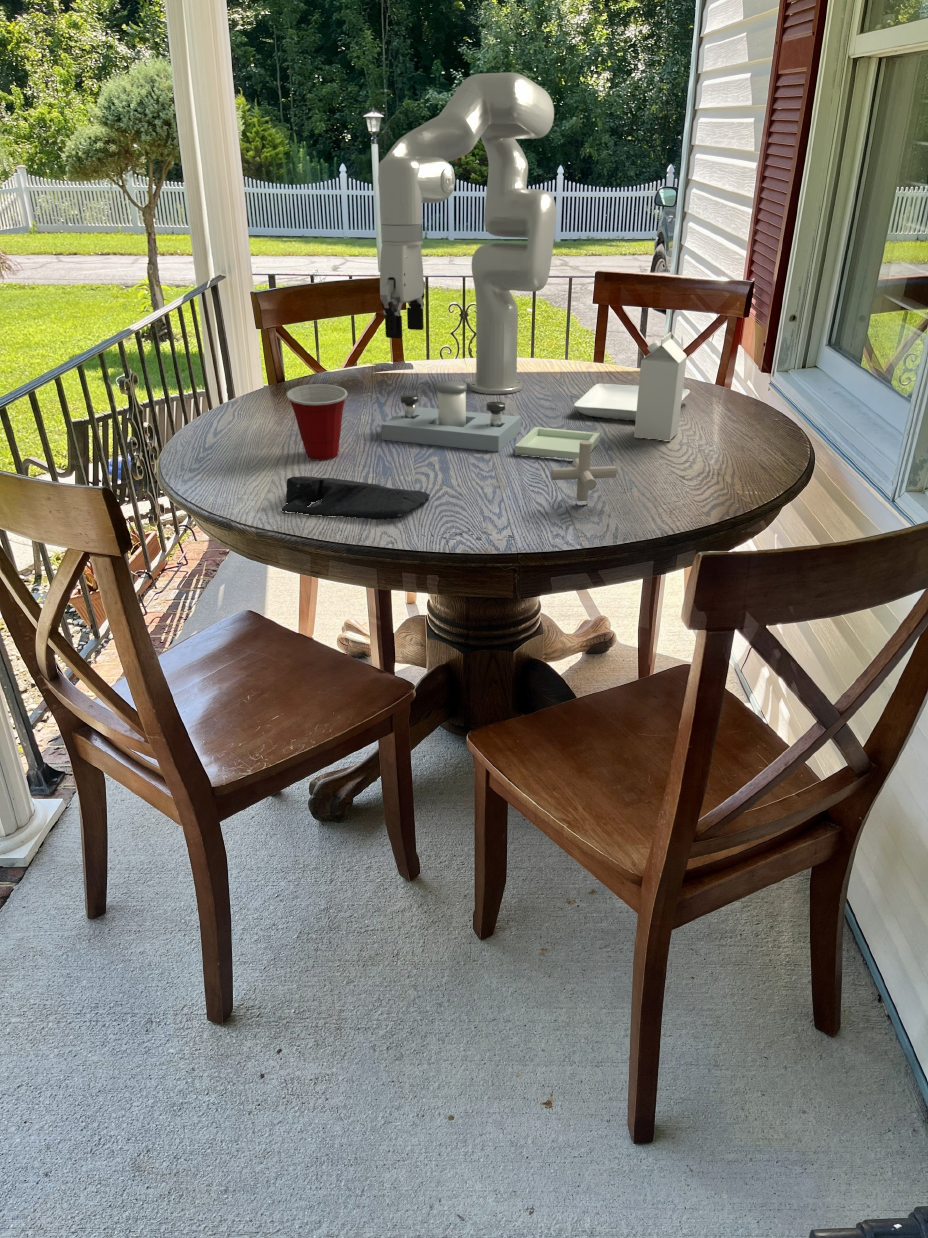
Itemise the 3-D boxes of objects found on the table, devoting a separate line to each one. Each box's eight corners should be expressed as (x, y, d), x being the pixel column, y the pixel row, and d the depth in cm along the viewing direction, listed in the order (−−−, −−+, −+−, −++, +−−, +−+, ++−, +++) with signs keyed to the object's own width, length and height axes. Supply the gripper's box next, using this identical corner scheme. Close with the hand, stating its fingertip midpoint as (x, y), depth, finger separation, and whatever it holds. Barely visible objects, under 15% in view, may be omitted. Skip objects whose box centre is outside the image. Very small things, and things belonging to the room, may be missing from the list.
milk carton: (678, 432, 167) (689, 333, 158) (669, 442, 162) (681, 340, 153) (642, 428, 170) (652, 330, 161) (633, 438, 164) (642, 337, 155)
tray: (534, 435, 166) (535, 426, 166) (599, 442, 162) (600, 433, 162) (514, 455, 156) (514, 445, 155) (583, 462, 152) (584, 453, 151)
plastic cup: (303, 468, 150) (296, 401, 144) (285, 452, 158) (278, 388, 153) (360, 459, 154) (356, 393, 149) (340, 443, 163) (335, 381, 157)
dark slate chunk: (400, 533, 126) (399, 502, 123) (271, 515, 132) (267, 486, 130) (437, 498, 138) (436, 470, 136) (317, 483, 145) (315, 456, 142)
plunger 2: (489, 428, 166) (489, 400, 163) (507, 430, 165) (507, 402, 162) (483, 433, 163) (483, 405, 160) (501, 435, 162) (501, 406, 159)
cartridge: (444, 430, 170) (443, 380, 166) (471, 432, 169) (470, 382, 164) (433, 438, 166) (431, 386, 161) (460, 440, 164) (460, 389, 159)
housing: (411, 420, 177) (410, 406, 175) (520, 431, 169) (521, 416, 168) (382, 439, 165) (381, 424, 164) (498, 451, 158) (498, 436, 156)
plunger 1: (405, 420, 171) (404, 393, 169) (422, 422, 170) (421, 394, 168) (398, 425, 168) (397, 397, 166) (415, 426, 167) (414, 399, 165)
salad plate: (570, 419, 177) (571, 403, 176) (595, 396, 195) (597, 381, 193) (672, 430, 170) (674, 413, 169) (689, 404, 188) (691, 389, 186)
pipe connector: (545, 493, 138) (547, 433, 133) (605, 491, 139) (610, 431, 134) (556, 516, 129) (559, 453, 124) (620, 514, 130) (625, 451, 125)
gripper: (403, 231, 161) (406, 325, 169) (361, 237, 147) (366, 339, 155) (439, 232, 159) (440, 327, 167) (400, 239, 145) (404, 342, 153)
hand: (405, 333), depth 161 cm, fingers open, 9 cm apart
